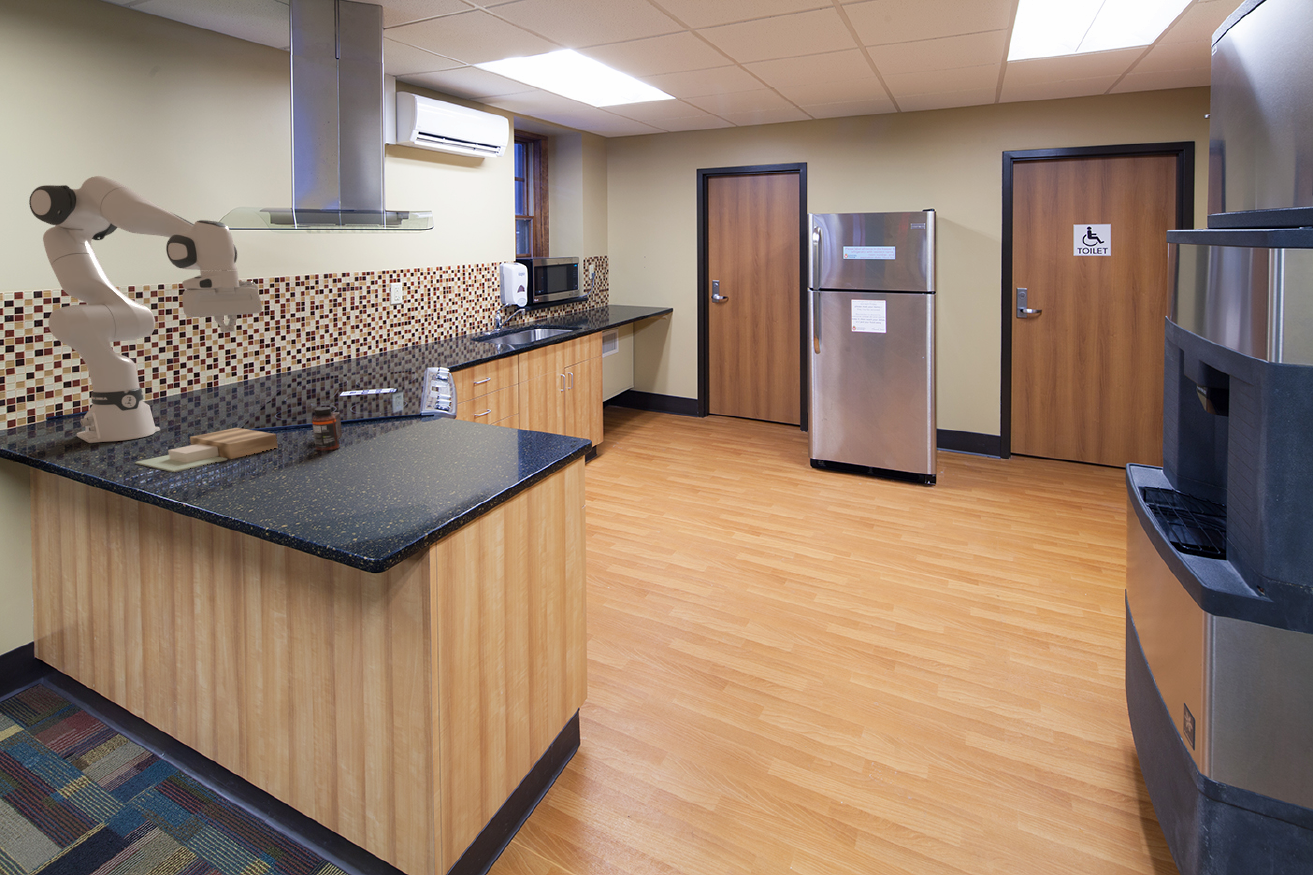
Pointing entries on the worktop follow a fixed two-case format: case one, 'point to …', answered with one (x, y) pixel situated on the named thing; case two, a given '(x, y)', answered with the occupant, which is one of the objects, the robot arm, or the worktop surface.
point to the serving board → (237, 442)
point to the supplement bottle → (325, 429)
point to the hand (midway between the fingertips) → (227, 331)
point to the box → (338, 424)
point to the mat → (177, 463)
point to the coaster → (193, 453)
